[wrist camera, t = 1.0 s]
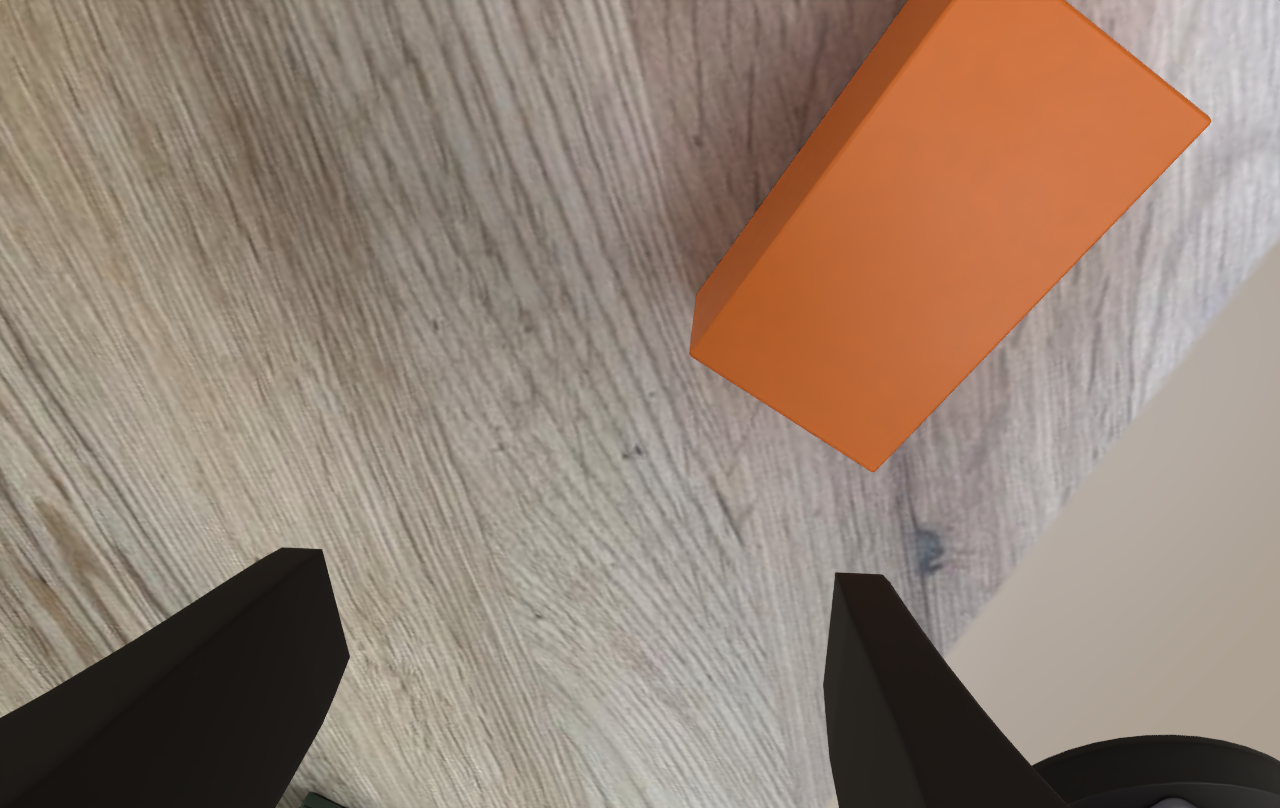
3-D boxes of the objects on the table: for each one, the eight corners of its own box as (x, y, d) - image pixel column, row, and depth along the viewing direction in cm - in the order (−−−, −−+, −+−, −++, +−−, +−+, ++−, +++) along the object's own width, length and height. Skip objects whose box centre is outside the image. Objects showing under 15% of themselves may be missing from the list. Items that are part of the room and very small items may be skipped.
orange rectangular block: (1116, 98, 15) (1216, 120, 12) (849, 398, 19) (873, 475, 15) (937, -43, 14) (994, -58, 11) (694, 295, 18) (686, 356, 15)
